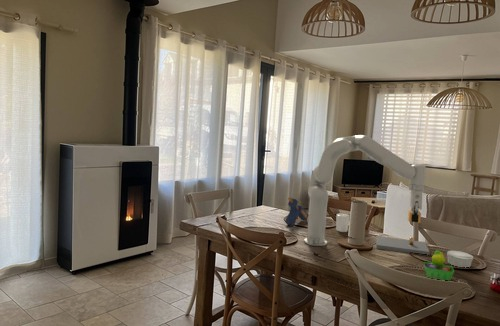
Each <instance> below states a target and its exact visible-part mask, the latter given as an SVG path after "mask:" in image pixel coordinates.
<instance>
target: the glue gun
mask: <svg viewBox="0 0 500 326" xmlns="http://www.w3.org/2000/svg"><path fill="white" fill-rule="evenodd" d="M287 199H288V200H289V201H288V204H287V205H288V207H290V209H289V212H288V215H287V216H286V219H285V223H286V224H287V226H291V227H294V226H295V223H296V222H297V220H299V219H300V220H301V221H305V222H308V216H309V212H307V211H306V210H305V208H304V207H303V206H302V205H298V203H299V201H298V200H297V199H296V198H292V197H288V198H287Z"/></svg>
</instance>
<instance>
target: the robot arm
mask: <svg viewBox="0 0 500 326" xmlns="http://www.w3.org/2000/svg"><path fill="white" fill-rule="evenodd" d="M357 151H360V152H362V153H363V154H365V155H366V156H368V157H369V158H370V159H373V161H375V162H376V163H378V164H380V165H382V166H384V167H387V168H388V169H390V170H391V171H394V174H395V176H398V177H400V178H402V179H406V180H409V183H408V190H409V191H410V198H409V199H410V202H409V205H410V211H413V214H412V219H411V221H412V222H411V223H417V222H418V216H419V215H418V212H419V211H420V210H422V208H423V192H425V185H426V176H427V175H426V172H427V167H426V165H424V164H414V163H413V164H410V163H409V162H407V161H406V160H404V159H403V158H401V157H400V156H398V155H397V154H396V153H393V152H392V151H391V150H389V149H388V148H386V147H385V146H383V145H382V144H381V143H379V142H378V141H376V140H375V139H373V138H371V137H370V136H368V135H365V134H358V135H352V136H344V137H338V138H335V139H334V140H333V142H331V143H329V145H327V146H326V147H325V148H324V150H323V152H322V154H321V156H320V160H319V164H318V165H317V166H316V167H315V168H314V169H313V170H312V171H313V172H312V174H311V178H310V181H309V185H308V189H307V194H308V196H309V204H308V214H309V216H308V218H307V236H306V237H305V238H304V239H303V242H304V243H305V244H307V245H309V246H313V247H314V246H315V247H322V246H323V247H324V246H326V245H328V241H327V239H325V237H326V223H327V209H328V202H329V193H328V190H327V189H326V188H327V185H328V184H330V182H331V181H332V179H333V176H334V171H335V168H336V165H337V162H338V160H339V158H340V157H341V156H343V155H347V154H349V152H350V153H351V152H357Z"/></svg>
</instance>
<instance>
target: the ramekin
mask: <svg viewBox="0 0 500 326" xmlns="http://www.w3.org/2000/svg"><path fill="white" fill-rule="evenodd" d="M446 255H447V263H448V264H449V263H450V264H451V265H450V264H449V265H450V266H452V265H454V266H453V267H455V266H458V267H457V268H459V267H465V268H464V269H467V268H466V267H469V268H470V267H471V266H472V264H473V263H472V262H473V260H474V256H473V255H472V254H469V253H467V252H464V251H459V250H449V251H446Z"/></svg>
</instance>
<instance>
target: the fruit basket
mask: <svg viewBox="0 0 500 326" xmlns="http://www.w3.org/2000/svg"><path fill="white" fill-rule="evenodd" d="M445 262H446V258H445V255H444V253H443V252H442V251H441V250H435V251H434V253H433V255H432V256H431V262H428V261H427V262H426V261H424V262H423V265H424V269H425V270H424V271H425V275H427V276H426V278H427V277H435V278H437V279H438V278H439V279H441V280H440V281H442V280H450V281H451V280H452V277H453V275H454V273H455V270H454V268H453V267H454V266H452V265H450V264H449V265H448V264H444V263H445ZM437 279H436V280H437Z"/></svg>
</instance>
